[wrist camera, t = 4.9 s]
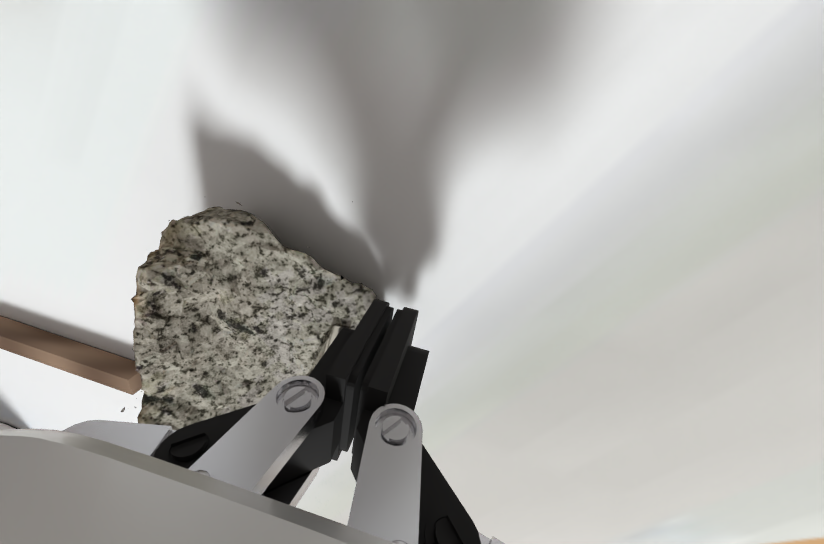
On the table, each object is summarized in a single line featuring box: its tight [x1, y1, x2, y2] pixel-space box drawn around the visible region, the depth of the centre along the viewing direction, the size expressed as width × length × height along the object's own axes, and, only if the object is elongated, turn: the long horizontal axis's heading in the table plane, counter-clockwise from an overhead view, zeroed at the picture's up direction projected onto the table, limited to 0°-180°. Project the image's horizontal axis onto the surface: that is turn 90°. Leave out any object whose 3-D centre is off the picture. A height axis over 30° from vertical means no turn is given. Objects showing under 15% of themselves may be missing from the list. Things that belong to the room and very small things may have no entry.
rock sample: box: [121, 201, 379, 431], centre depth 13 cm, size 10×8×9 cm
